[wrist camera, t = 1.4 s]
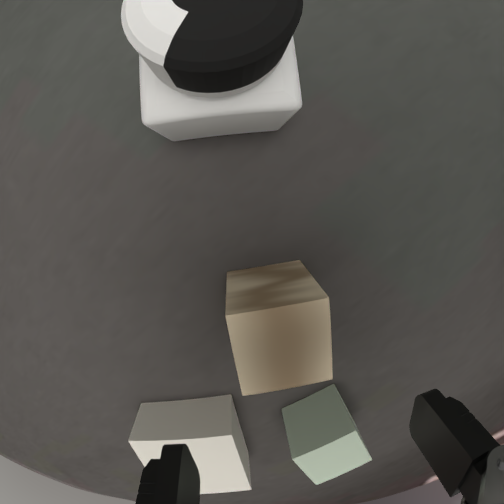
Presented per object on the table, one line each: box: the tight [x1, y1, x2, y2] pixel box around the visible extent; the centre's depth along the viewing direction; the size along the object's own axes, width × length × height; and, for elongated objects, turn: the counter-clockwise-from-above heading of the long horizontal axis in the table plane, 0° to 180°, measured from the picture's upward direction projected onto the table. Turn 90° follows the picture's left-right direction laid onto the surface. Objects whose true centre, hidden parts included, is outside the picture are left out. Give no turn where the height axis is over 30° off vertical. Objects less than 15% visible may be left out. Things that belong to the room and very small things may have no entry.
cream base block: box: [128, 394, 251, 494], centre depth 22 cm, size 8×8×5 cm
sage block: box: [281, 384, 372, 485], centre depth 22 cm, size 5×5×6 cm
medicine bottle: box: [121, 0, 303, 141], centre depth 13 cm, size 7×7×12 cm
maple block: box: [225, 260, 333, 396], centre depth 19 cm, size 5×5×7 cm
